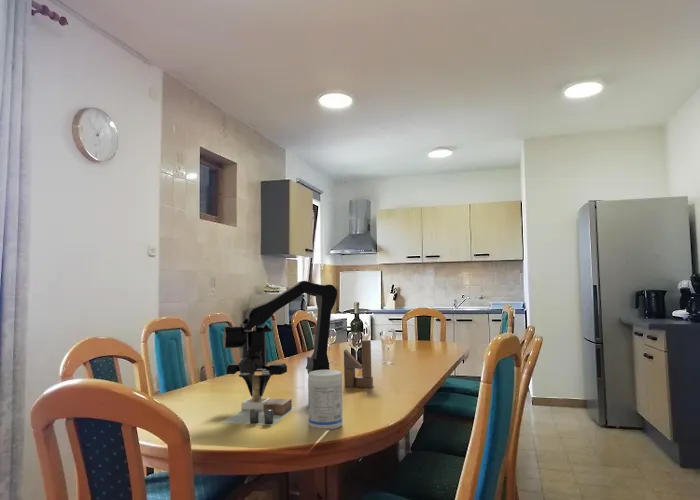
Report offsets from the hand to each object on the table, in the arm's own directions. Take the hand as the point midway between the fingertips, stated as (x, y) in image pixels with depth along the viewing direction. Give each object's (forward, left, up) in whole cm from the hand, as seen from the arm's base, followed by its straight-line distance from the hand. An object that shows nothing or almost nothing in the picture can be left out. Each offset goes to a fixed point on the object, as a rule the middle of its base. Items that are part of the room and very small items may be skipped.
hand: (256, 396), depth 151 cm
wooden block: (-24, -41, -5) cm, 48 cm away
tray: (0, 0, -4) cm, 4 cm away
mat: (-4, +7, -4) cm, 9 cm away
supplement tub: (-26, +14, -5) cm, 30 cm away
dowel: (0, 0, -1) cm, 1 cm away
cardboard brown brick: (-8, +4, -4) cm, 10 cm away
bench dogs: (-8, +16, -4) cm, 18 cm away
